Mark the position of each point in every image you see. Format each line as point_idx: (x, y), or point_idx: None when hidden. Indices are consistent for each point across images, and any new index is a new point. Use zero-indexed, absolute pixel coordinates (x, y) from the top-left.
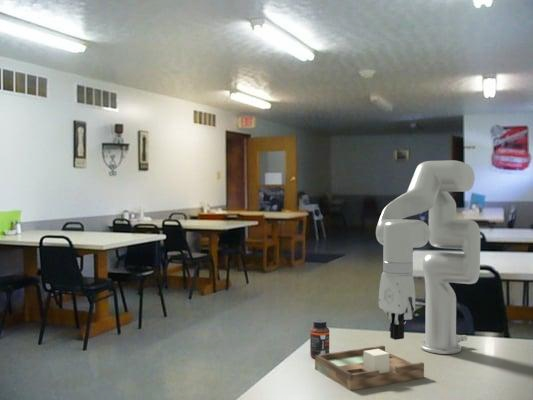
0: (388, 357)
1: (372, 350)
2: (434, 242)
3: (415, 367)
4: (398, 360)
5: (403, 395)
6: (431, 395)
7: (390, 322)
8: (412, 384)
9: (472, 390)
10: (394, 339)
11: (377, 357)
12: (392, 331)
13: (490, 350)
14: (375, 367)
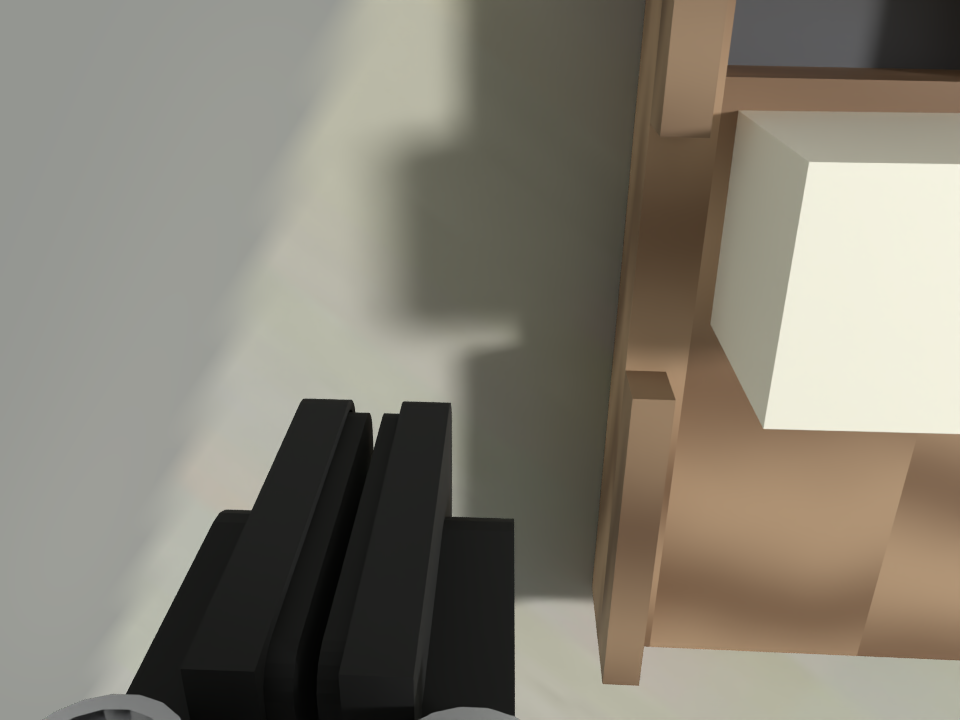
0: (751, 389)
1: None
2: None
3: (607, 580)
4: (918, 605)
5: (300, 156)
6: (216, 378)
7: (455, 716)
8: (504, 409)
9: None
10: (306, 401)
11: (789, 217)
12: (360, 509)
13: None
14: (757, 148)
